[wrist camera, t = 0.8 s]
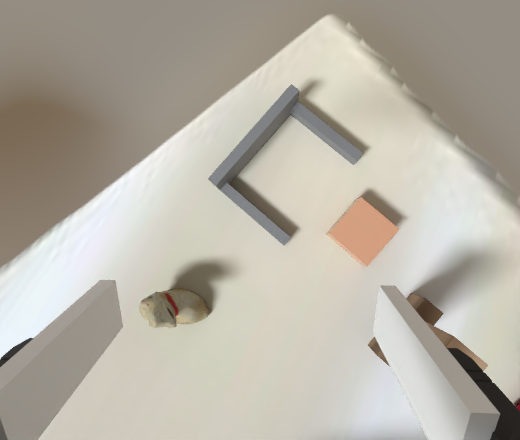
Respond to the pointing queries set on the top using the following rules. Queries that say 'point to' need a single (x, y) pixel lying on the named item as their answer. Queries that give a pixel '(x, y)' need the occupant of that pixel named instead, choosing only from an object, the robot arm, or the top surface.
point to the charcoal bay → (260, 136)
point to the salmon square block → (362, 231)
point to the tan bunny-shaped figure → (173, 308)
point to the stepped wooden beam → (431, 317)
